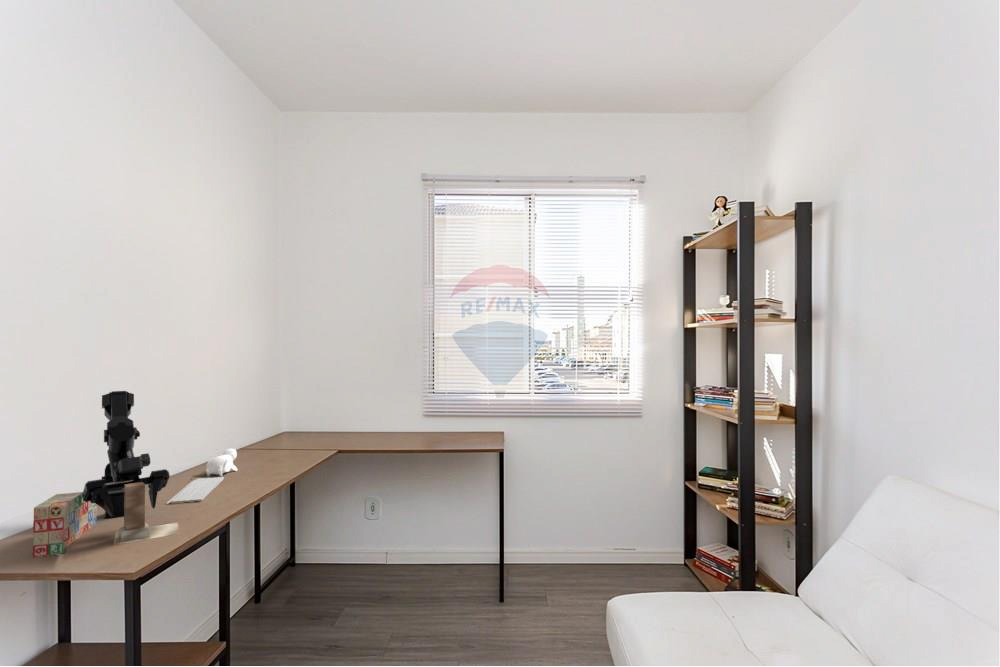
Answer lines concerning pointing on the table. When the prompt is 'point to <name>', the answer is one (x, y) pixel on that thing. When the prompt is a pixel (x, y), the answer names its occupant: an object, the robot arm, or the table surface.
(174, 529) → the board
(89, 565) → the table surface
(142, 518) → the block
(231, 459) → the white lumpy figurine
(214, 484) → the baseboard molding
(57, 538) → the stack of blocks
